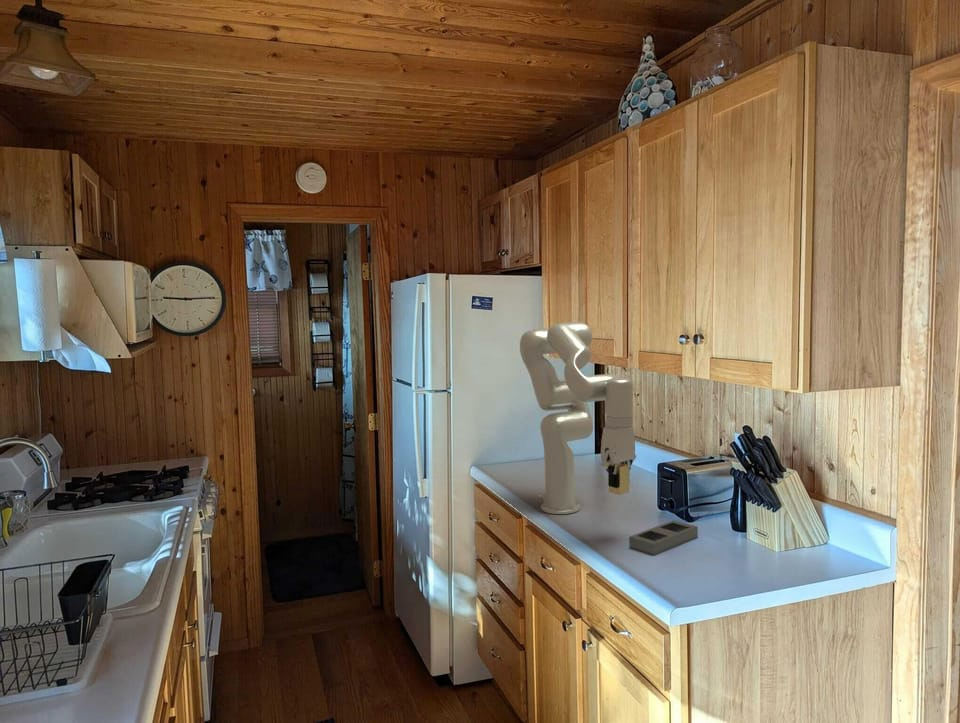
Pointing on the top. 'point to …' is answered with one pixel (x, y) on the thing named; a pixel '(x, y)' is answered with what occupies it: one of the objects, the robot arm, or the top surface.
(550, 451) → the robot arm
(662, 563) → the top surface
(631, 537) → the grey slotted block
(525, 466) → the top surface
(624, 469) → the yellow rectangular block
